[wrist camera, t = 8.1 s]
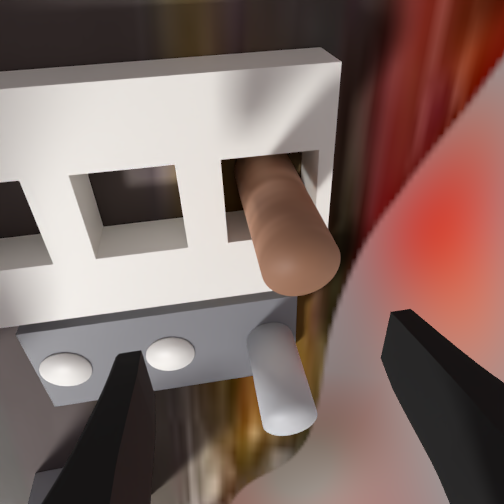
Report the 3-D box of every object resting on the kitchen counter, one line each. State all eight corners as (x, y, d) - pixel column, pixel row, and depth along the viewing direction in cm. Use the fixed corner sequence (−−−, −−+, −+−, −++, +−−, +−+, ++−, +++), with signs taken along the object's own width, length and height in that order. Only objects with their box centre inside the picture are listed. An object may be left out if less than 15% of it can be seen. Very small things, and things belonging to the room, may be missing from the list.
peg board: (-9, 294, 21) (-28, 331, 19) (-126, 81, 15) (-173, 102, 13) (309, 253, 22) (323, 283, 20) (320, 47, 16) (341, 61, 14)
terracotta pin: (236, 198, 20) (262, 300, 14) (232, 146, 18) (260, 237, 13) (290, 192, 20) (337, 290, 14) (291, 140, 18) (344, 227, 13)
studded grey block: (60, 384, 25) (32, 498, 20) (24, 313, 22) (-22, 430, 16) (288, 349, 27) (317, 447, 21) (290, 277, 23) (325, 374, 18)
